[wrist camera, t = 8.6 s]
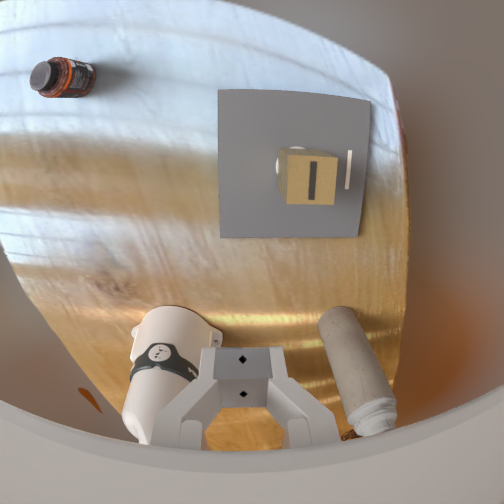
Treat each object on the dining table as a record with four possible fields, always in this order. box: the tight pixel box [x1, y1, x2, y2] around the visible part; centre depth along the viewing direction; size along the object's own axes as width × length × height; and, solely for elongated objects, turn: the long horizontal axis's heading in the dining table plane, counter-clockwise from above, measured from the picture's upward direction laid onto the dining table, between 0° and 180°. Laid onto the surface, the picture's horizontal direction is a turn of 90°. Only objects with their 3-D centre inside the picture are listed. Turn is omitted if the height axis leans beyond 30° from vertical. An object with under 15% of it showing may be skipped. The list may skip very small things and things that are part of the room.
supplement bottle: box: [30, 57, 95, 98], centre depth 27 cm, size 6×6×11 cm
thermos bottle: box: [318, 306, 397, 437], centre depth 42 cm, size 8×8×28 cm
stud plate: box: [218, 89, 371, 238], centre depth 36 cm, size 22×22×10 cm
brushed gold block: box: [277, 148, 338, 205], centre depth 34 cm, size 6×6×8 cm
